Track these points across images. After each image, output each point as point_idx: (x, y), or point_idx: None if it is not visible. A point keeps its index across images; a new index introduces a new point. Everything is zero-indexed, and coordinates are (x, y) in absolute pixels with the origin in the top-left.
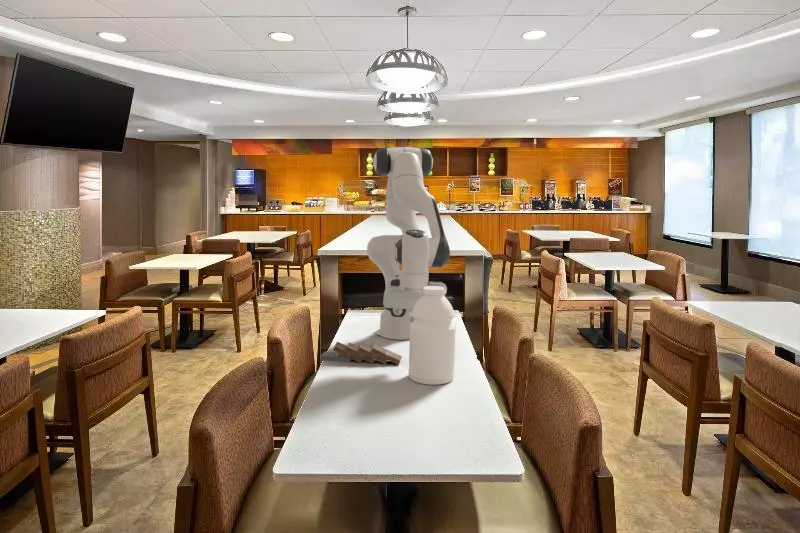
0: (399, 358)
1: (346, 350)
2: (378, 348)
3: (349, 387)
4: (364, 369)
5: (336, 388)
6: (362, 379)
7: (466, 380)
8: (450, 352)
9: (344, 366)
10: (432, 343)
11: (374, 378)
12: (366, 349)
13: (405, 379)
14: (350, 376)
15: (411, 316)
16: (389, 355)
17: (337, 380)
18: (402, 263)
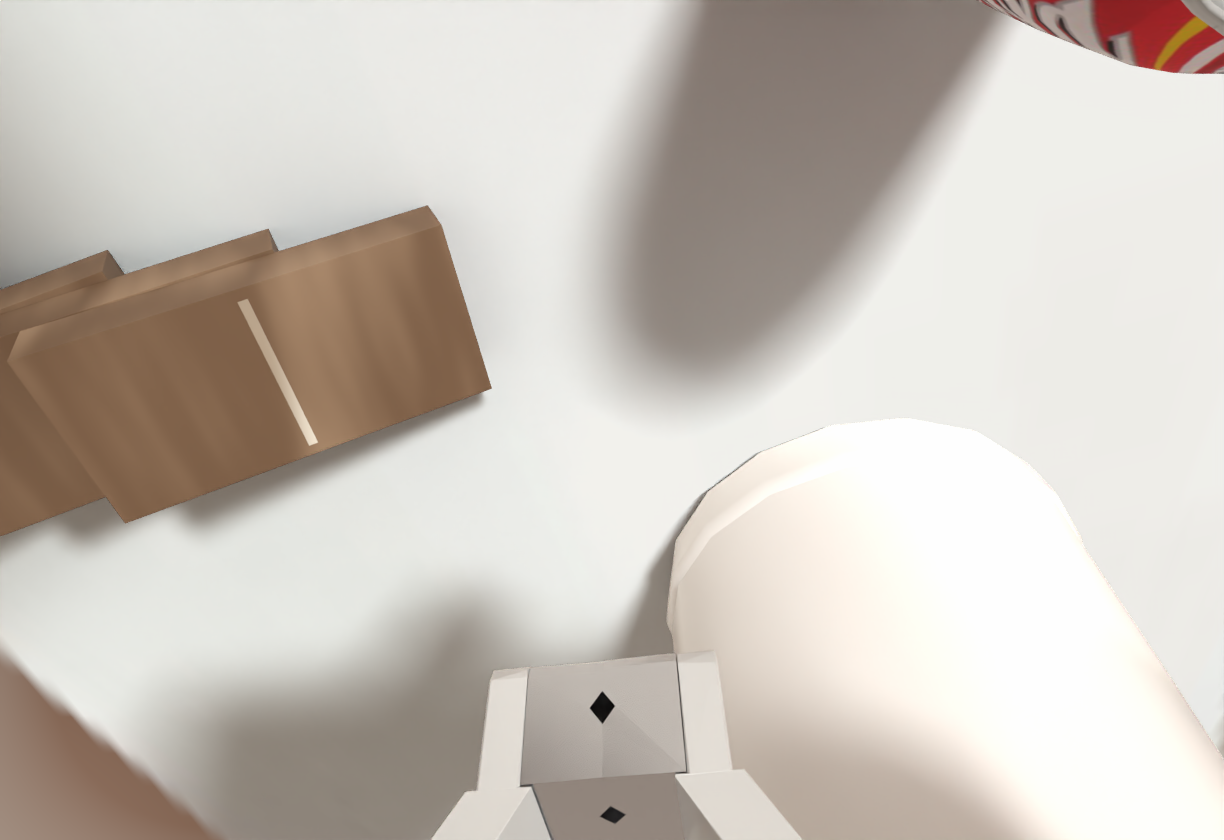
0: (455, 341)
1: None
2: (156, 433)
3: (369, 789)
4: (246, 545)
5: (311, 811)
6: (365, 695)
7: (1156, 536)
8: None
9: (38, 531)
10: None
11: (433, 665)
12: (49, 489)
13: (657, 630)
14: (253, 676)
15: (543, 827)
16: (351, 429)
17: (227, 739)
18: None
